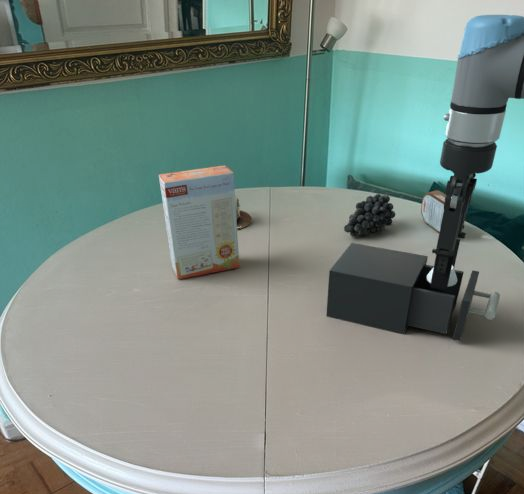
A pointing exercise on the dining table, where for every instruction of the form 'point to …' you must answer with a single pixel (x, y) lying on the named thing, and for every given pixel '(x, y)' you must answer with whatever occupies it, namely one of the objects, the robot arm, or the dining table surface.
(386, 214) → the fruit
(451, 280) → the white jar
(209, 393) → the dining table surface
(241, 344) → the dining table surface
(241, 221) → the skull
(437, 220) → the tin
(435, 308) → the grey drawer
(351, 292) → the drawer cabinet casing
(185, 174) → the cracker box
